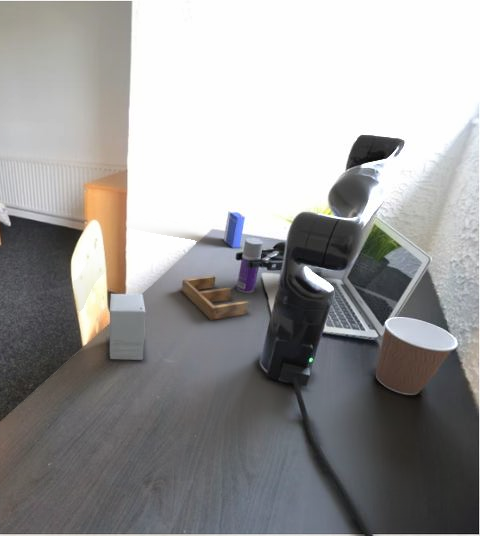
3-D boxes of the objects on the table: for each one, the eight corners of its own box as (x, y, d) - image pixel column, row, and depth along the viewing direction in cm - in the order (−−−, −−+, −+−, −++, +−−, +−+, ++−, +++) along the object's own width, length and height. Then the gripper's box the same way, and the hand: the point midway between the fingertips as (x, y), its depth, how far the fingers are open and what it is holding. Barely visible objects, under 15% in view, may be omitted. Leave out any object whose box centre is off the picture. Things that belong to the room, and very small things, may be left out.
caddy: (211, 320, 95) (213, 308, 93) (181, 290, 109) (182, 279, 107) (246, 314, 97) (248, 302, 95) (212, 286, 111) (213, 275, 109)
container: (255, 293, 106) (265, 244, 99) (238, 292, 107) (246, 243, 100) (252, 285, 110) (261, 238, 104) (235, 284, 111) (243, 237, 104)
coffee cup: (446, 402, 69) (475, 349, 64) (389, 402, 69) (413, 350, 64) (403, 364, 78) (425, 316, 73) (353, 365, 78) (372, 316, 73)
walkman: (239, 247, 136) (245, 216, 131) (232, 247, 136) (237, 216, 131) (230, 239, 143) (235, 209, 138) (223, 240, 143) (228, 209, 138)
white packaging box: (141, 340, 87) (144, 293, 82) (142, 361, 81) (146, 311, 75) (109, 339, 88) (110, 292, 83) (108, 359, 82) (109, 310, 76)
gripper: (279, 232, 112) (229, 239, 108) (317, 250, 99) (261, 258, 96) (274, 255, 115) (225, 262, 112) (310, 275, 103) (256, 284, 99)
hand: (242, 260), depth 104 cm, fingers closed on container, 4 cm apart
